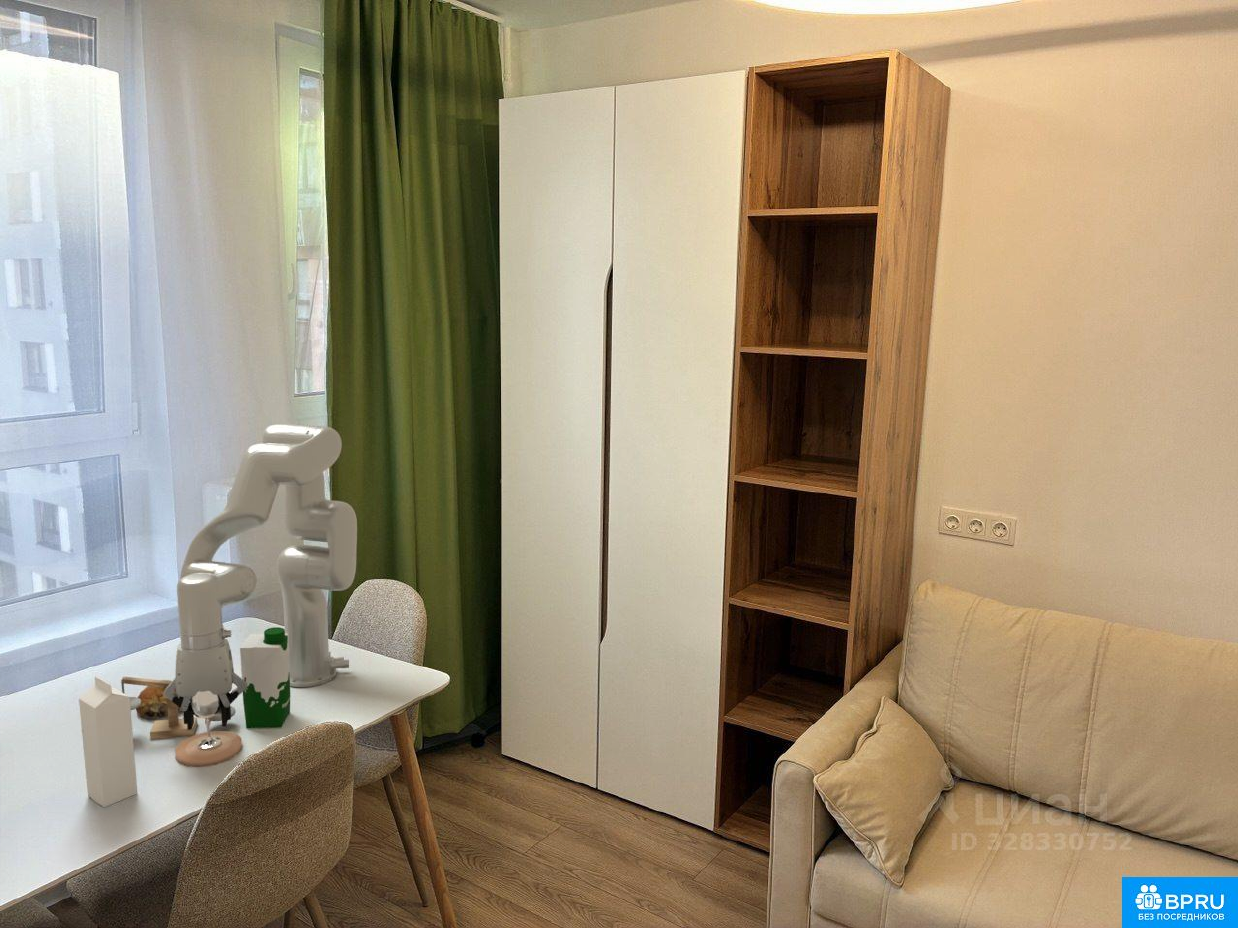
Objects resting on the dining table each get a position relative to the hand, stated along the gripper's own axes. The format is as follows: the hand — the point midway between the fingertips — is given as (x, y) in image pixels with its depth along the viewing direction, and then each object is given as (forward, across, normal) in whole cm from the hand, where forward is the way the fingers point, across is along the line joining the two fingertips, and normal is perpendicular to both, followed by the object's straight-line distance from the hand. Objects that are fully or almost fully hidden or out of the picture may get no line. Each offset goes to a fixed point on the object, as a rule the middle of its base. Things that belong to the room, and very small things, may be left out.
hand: (208, 723), depth 183 cm
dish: (+6, 0, 0) cm, 6 cm away
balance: (+6, +8, -10) cm, 14 cm away
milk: (+6, +14, +13) cm, 20 cm away
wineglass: (+4, 0, 0) cm, 4 cm away
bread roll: (+6, +12, -21) cm, 25 cm away
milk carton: (+6, -10, -11) cm, 16 cm away
